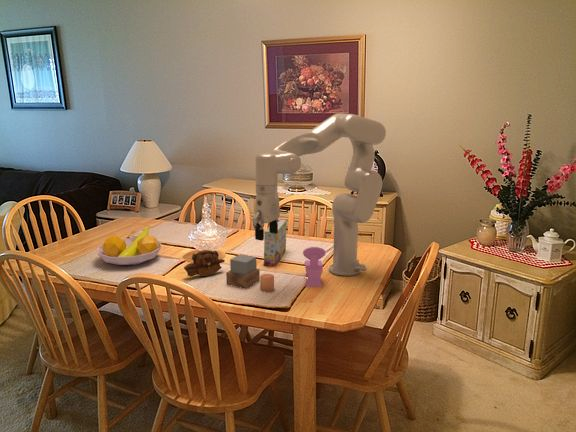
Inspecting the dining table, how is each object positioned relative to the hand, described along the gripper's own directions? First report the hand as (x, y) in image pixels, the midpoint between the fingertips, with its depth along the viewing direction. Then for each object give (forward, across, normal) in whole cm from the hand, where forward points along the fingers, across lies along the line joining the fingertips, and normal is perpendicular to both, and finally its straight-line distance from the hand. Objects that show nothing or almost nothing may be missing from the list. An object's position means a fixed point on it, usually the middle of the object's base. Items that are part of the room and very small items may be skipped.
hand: (266, 236), depth 170 cm
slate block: (+15, +1, +11) cm, 19 cm away
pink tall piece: (+20, +14, -12) cm, 28 cm away
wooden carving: (+20, 0, +28) cm, 35 cm away
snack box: (+20, +31, +14) cm, 40 cm away
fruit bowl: (+21, 0, +67) cm, 70 cm away
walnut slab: (+20, +1, +11) cm, 23 cm away
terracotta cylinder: (+20, 0, 0) cm, 20 cm away
